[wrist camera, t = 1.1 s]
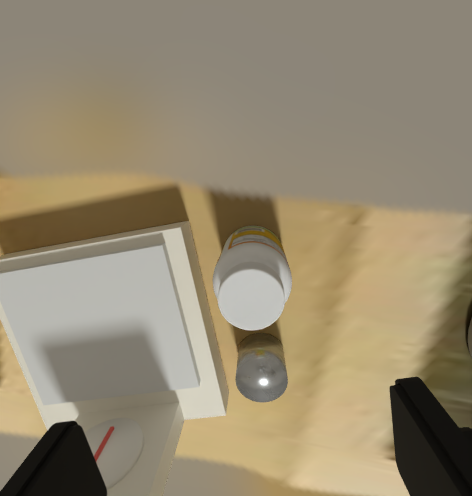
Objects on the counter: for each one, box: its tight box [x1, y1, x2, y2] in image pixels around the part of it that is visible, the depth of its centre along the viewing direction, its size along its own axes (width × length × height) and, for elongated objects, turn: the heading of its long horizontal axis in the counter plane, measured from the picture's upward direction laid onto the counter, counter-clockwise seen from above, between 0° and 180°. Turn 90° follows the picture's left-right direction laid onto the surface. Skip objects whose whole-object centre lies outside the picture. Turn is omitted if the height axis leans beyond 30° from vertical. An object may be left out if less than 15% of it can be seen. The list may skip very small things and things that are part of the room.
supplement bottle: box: [213, 226, 292, 330], centre depth 22 cm, size 5×5×10 cm
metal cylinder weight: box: [236, 333, 288, 402], centre depth 28 cm, size 4×4×4 cm
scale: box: [0, 221, 229, 496], centre depth 24 cm, size 18×18×12 cm
